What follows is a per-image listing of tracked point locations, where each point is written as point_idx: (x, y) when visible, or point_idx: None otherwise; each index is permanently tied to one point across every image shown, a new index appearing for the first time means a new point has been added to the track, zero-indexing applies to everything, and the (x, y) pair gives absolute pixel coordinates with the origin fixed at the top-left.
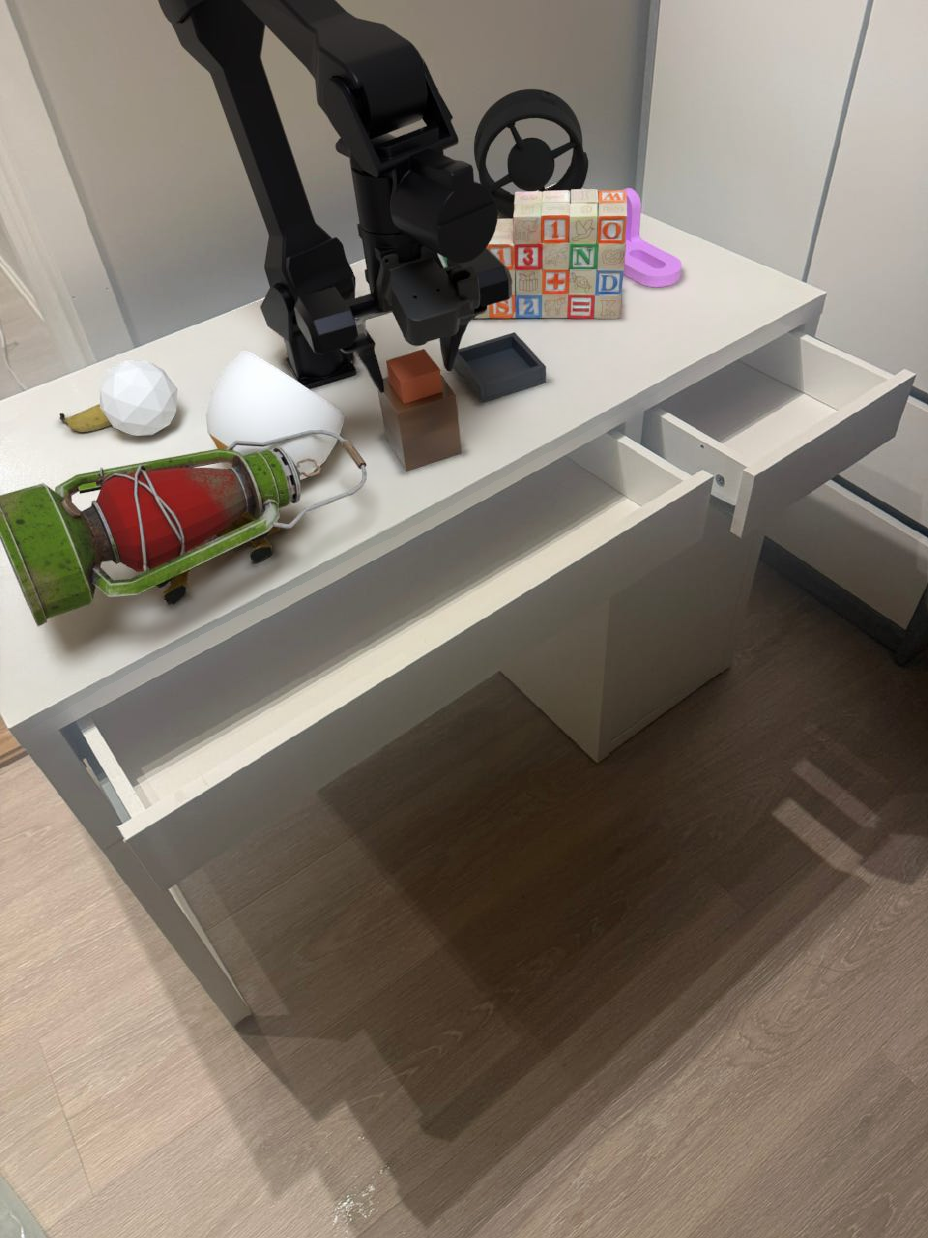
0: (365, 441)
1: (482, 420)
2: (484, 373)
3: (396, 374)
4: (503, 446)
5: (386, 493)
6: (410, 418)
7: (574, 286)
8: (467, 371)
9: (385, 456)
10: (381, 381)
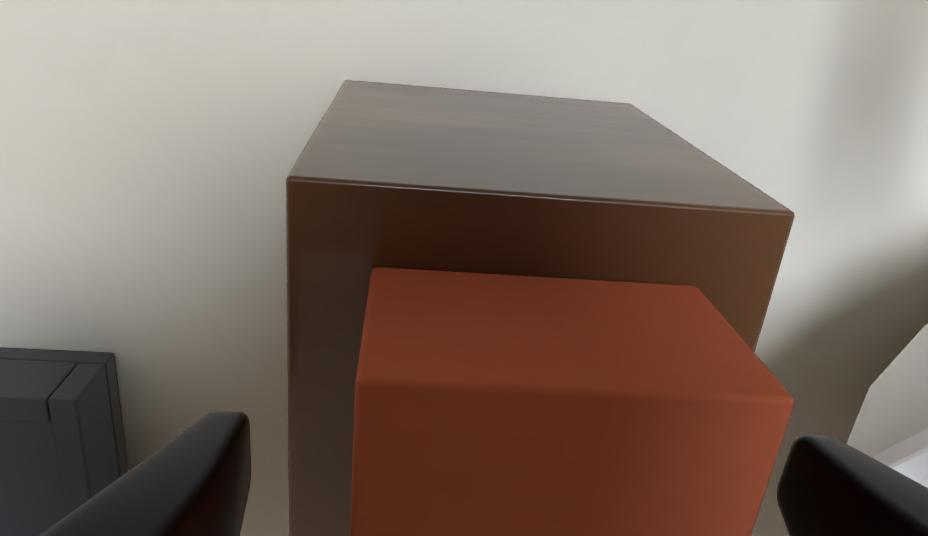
0: None
1: (154, 245)
2: (28, 502)
3: (752, 509)
4: (128, 6)
5: (789, 11)
6: (674, 180)
7: None
8: None
9: None
10: (896, 492)
